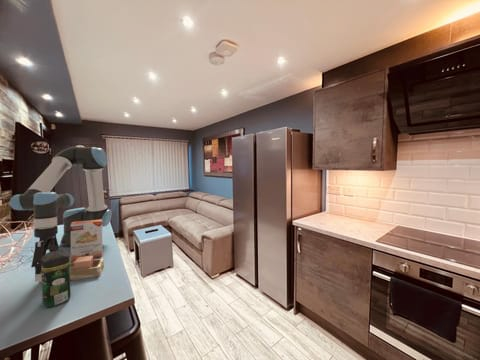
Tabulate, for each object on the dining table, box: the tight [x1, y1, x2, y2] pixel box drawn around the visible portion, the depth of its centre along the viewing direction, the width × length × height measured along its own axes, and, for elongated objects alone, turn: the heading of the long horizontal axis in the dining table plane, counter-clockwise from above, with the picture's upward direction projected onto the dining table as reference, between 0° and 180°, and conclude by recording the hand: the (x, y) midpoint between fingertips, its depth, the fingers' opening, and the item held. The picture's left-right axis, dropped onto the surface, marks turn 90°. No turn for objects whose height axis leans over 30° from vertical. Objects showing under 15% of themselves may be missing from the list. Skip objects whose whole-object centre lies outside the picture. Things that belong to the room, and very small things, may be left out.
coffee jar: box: [41, 249, 72, 308], centre depth 75 cm, size 10×8×19 cm
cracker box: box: [70, 219, 103, 263], centre depth 112 cm, size 14×6×21 cm, turn 124°
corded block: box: [38, 255, 94, 283], centre depth 93 cm, size 6×18×10 cm, turn 116°
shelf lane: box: [70, 258, 105, 281], centre depth 95 cm, size 10×15×4 cm
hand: (47, 273), depth 89 cm, fingers open, 13 cm apart
